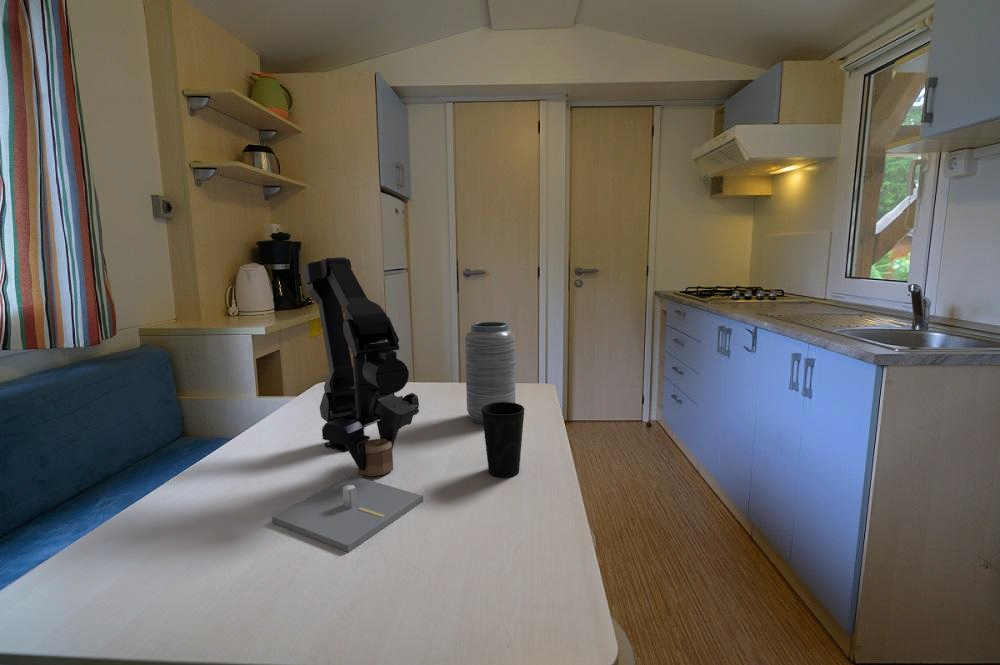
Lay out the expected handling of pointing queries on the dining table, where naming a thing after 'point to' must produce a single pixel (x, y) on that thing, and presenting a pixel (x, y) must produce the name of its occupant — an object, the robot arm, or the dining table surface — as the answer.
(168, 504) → the dining table surface
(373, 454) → the knob
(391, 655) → the dining table surface
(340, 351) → the robot arm
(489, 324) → the vase
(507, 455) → the cup
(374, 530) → the base plate
